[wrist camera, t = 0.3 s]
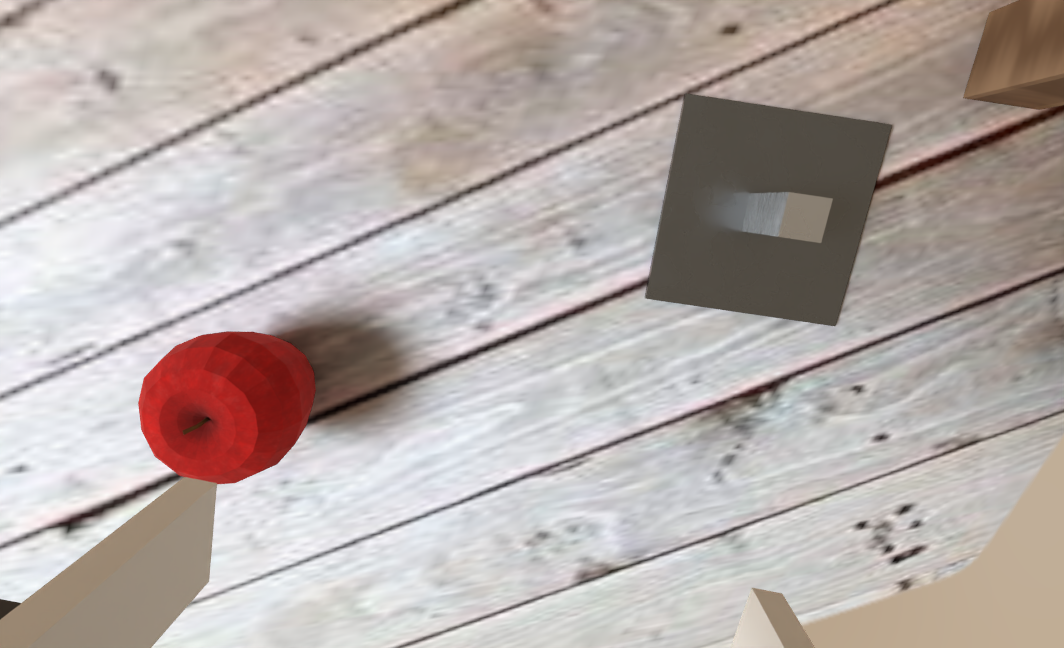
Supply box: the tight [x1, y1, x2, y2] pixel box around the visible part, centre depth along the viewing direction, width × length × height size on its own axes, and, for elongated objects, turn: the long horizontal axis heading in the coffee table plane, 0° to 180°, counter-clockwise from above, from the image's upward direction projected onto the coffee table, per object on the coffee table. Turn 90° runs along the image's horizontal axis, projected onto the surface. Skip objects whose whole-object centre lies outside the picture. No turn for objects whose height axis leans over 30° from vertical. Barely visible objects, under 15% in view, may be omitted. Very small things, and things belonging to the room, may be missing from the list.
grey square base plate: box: [645, 94, 892, 326], centre depth 34 cm, size 14×14×6 cm
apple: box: [138, 332, 316, 484], centre depth 36 cm, size 10×10×11 cm
